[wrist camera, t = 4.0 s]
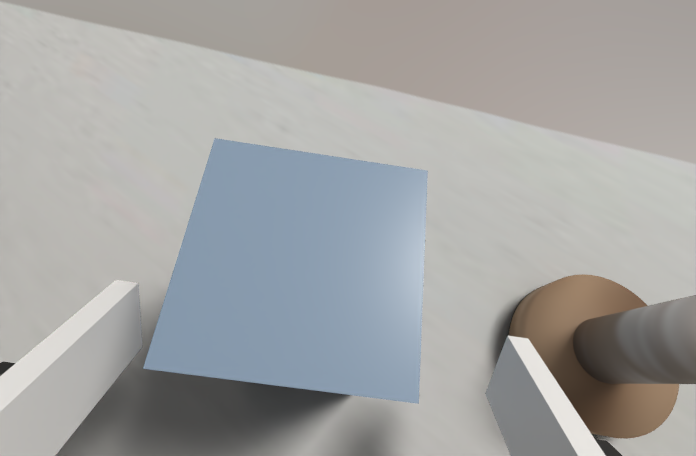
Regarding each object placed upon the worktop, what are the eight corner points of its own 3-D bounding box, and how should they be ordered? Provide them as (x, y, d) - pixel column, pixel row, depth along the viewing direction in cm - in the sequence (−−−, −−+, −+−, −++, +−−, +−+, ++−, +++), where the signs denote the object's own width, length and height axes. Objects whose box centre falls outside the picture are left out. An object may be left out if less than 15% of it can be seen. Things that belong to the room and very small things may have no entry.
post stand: (484, 367, 20) (583, 359, 13) (543, 257, 23) (652, 199, 16) (618, 468, 19) (813, 523, 12) (664, 338, 22) (844, 316, 14)
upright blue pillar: (240, 376, 19) (142, 368, 8) (264, 264, 21) (214, 138, 10) (356, 391, 19) (418, 403, 8) (367, 279, 22) (427, 170, 11)
